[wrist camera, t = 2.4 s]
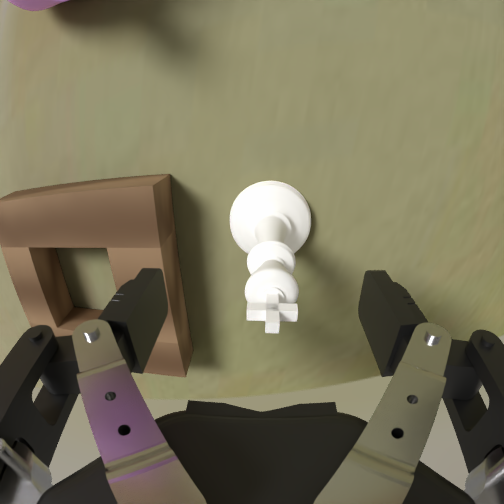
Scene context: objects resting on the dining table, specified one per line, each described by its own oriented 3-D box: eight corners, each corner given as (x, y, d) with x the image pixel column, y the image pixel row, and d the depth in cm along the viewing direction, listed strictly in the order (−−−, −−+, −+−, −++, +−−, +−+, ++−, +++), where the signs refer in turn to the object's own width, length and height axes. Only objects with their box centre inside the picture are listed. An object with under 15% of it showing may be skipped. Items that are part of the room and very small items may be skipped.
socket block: (14, 191, 18) (-10, 203, 15) (170, 174, 17) (152, 185, 15) (58, 332, 24) (43, 352, 21) (193, 350, 23) (185, 377, 21)
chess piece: (307, 257, 19) (334, 377, 10) (230, 255, 20) (202, 374, 11) (313, 182, 17) (361, 260, 8) (229, 179, 17) (187, 255, 8)
